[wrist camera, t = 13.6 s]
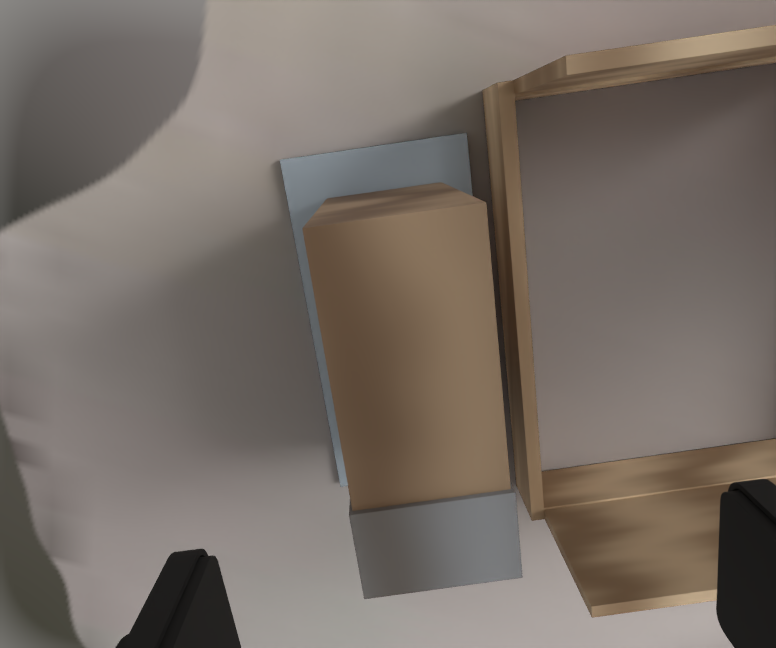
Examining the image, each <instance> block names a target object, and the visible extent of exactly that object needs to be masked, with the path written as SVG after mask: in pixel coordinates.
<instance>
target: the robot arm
mask: <svg viewBox="0 0 776 648" xmlns="http://www.w3.org/2000/svg"><path fill="white" fill-rule="evenodd" d="M716 610H717V617H718V620H719V623H720V626H721V628H722V630H723V632H724V633H725V635H726V636H727V638H728V639H729V641H730V642H731V643H732V645H733V646H734V648H776V485H775V484H774V483H772V482H771V481H769V480H768V479H757V480H749V481H741V482H734V483H732V484H730V486H729V489H728V492H723V493H722V495H721V498H720V519H719V548H718V577H717V606H716ZM116 648H241V645H240V641H239V638H238V634H237V630H236V627H235V623H234V619H233V615H232V612H231V608H230V604H229V601H228V597H227V593H226V590H225V586H224V582H223V579H222V575H221V571H220V567H219V564H218V561H217V558H216V557H215V556H208V554H207V552H206V551H205V550H204V549H196V550H188V551H180V552H174V553H172V554H171V555H170V556H169V558H168V559H167V561H166V563H165V565H164V567H163V569H162V571H161V573H160V575H159V577H158V579H157V581H156V583H155V585H154V587H153V589H152V590H151V592H150V594H149V596H148V598H147V600H146V602H145V604H144V606H143V608H142V610H141V612H140V614H139V616H138V618H137V620H136V622H135V623H134V625H133V627H132V629H131V631H130V633H129V634H128V635H126V636H125V637H123V638H122V639H121V640H120V642H119V643H118V645H117V646H116Z"/></svg>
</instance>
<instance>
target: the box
mask: <svg viewBox="0 0 776 648" xmlns="http://www.w3.org/2000/svg"><path fill="white" fill-rule="evenodd" d="M302 230H303V236H304V241H305V247H306V253H307V258H308V264H309V269H310V275H311V281H312V286H313V292H314V298H315V303H316V309H317V314H318V320H319V326H320V331H321V337H322V342H323V348H324V354H325V359H326V365H327V371H328V376H329V382H330V387H331V393H332V399H333V404H334V410H335V415H336V421H337V427H338V432H339V438H340V443H341V449H342V455H343V460H344V466H345V472H346V477H347V483H348V488H349V494H350V509H349V517H350V523H351V528H352V534H353V539H354V545H355V550H356V556H357V561H358V567H359V572H360V578H361V584H362V589H363V595H364V599H369V598H376V597H384V596H391V595H398V594H406V593H413V592H420V591H428V590H435V589H442V588H449V587H457V586H464V585H471V584H479V583H486V582H493V581H501V580H508V579H515V578H523V576H522V564H521V552H520V540H519V528H518V516H517V504H516V492H515V490H514V488H513V485H512V483H511V481H510V474H509V462H508V451H507V439H506V427H505V415H504V404H503V392H502V380H501V369H500V357H499V345H498V334H497V322H496V310H495V299H494V287H493V275H492V264H491V252H490V240H489V228H488V217H487V205H486V202H484V201H482V200H480V199H478V198H475V197H473V196H471V195H469V194H467V193H464V192H462V191H460V190H458V189H455V188H453V187H451V186H449V185H446V184H444V183H442V182H439V183H432V184H425V185H418V186H411V187H404V188H397V189H390V190H383V191H375V192H368V193H361V194H354V195H347V196H340V197H333V198H327V199H326V200H325V201H324V203H323V204H322V205H321V206H320V207H319V209H318V210H317V211H316V212H315V213H314V215H313V216H312V217H311V218H310V220H309V221H308V222H307V223H306V224H305V226H304V227H303V228H302Z"/></svg>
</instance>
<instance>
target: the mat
mask: <svg viewBox="0 0 776 648" xmlns="http://www.w3.org/2000/svg"><path fill="white" fill-rule="evenodd" d="M280 164H281V169H282V174H283V180H284V185H285V191H286V196H287V201H288V207H289V212H290V217H291V223H292V228H293V234H294V239H295V244H296V250H297V255H298V260H299V266H300V271H301V277H302V282H303V287H304V293H305V298H306V303H307V309H308V314H309V320H310V325H311V330H312V336H313V341H314V346H315V352H316V357H317V363H318V368H319V373H320V379H321V384H322V389H323V395H324V400H325V405H326V411H327V416H328V422H329V427H330V432H331V438H332V443H333V448H334V454H335V459H336V465H337V470H338V475H339V481H340V486H341V487H343V486H348V483H347V477H346V472H345V466H344V460H343V455H342V449H341V443H340V438H339V432H338V427H337V421H336V415H335V410H334V404H333V399H332V393H331V387H330V382H329V376H328V371H327V365H326V359H325V354H324V348H323V342H322V337H321V331H320V326H319V320H318V314H317V309H316V303H315V298H314V292H313V286H312V281H311V275H310V269H309V264H308V258H307V253H306V247H305V241H304V236H303V230H302V228H303V227H304V226H305V224H306V223H307V222H308V221H309V220H310V218H311V217H312V216H313V215H314V213H315V212H316V211H317V210H318V209H319V207H320V206H321V205H322V204H323V203H324V201H325V200H326V199H327V198H333V197H340V196H347V195H354V194H361V193H368V192H375V191H383V190H390V189H397V188H404V187H411V186H418V185H425V184H432V183H439V182H442V183H444V184H446V185H449V186H451V187H453V188H455V189H458V190H460V191H462V192H464V193H467V194H469V195H471V196H473V194H472V184H471V173H470V163H469V152H468V142H467V133H461V134H454V135H448V136H441V137H434V138H427V139H420V140H413V141H406V142H400V143H393V144H386V145H379V146H372V147H365V148H358V149H351V150H345V151H338V152H331V153H324V154H317V155H310V156H303V157H296V158H290V159H283V160H280Z"/></svg>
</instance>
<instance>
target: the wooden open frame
mask: <svg viewBox="0 0 776 648" xmlns="http://www.w3.org/2000/svg"><path fill="white" fill-rule="evenodd" d="M771 63H776V25H772V26H765V27H758V28H751V29H744V30H737V31H731V32H724V33H717V34H710V35H703V36H697V37H690V38H683V39H676V40H669V41H662V42H656V43H649V44H642V45H635V46H628V47H621V48H615V49H608V50H601V51H594V52H587V53H580V54H574V55H567V56H564V57H562V58H560V59H558V60H556V61H554V62H551V63H549V64H547V65H545V66H543V67H541V68H539V69H537V70H534V71H532V72H530V73H528V74H526V75H524V76H522V77H520V78H517V79H515V80H512V81H505V82H499V83H496V84H494V85H492V86H490V87H488V88H486V89H484V90H482V91H483V102H484V114H485V126H486V137H487V149H488V161H489V172H490V184H491V195H492V207H493V219H494V230H495V242H496V254H497V265H498V277H499V289H500V300H501V312H502V324H503V335H504V347H505V359H506V370H507V382H508V394H509V405H510V417H511V429H512V440H513V452H514V464H515V475H516V486H517V488H518V490H519V492H520V495H521V497H522V499H523V501H524V504H525V506H526V508H527V511H528V513H529V515H530V517H531V520H532V521H534V520H541V519H545V521H546V523H547V525H548V527H549V529H550V531H551V533H552V535H553V537H554V539H555V541H556V544H557V546H558V548H559V550H560V552H561V554H562V556H563V558H564V560H565V562H566V564H567V566H568V569H569V571H570V573H571V575H572V577H573V579H574V581H575V583H576V585H577V587H578V589H579V592H580V594H581V596H582V598H583V600H584V602H585V604H586V606H587V608H588V610H589V612H590V615H591V617H592V618H593V617H600V616H607V615H614V614H621V613H629V612H636V611H643V610H650V609H657V608H665V607H672V606H679V605H686V604H694V603H701V602H708V601H715V600H717V577H718V548H719V519H720V498H721V495H722V493H723V492H728V489H729V486H730V484H732V483H734V482H741V481H749V480H757V479H768V480H769V481H771V482H772V483H774V484H775V485H776V439H769V440H762V441H755V442H748V443H741V444H734V445H727V446H720V447H712V448H705V449H698V450H691V451H684V452H677V453H670V454H663V455H656V456H649V457H641V458H634V459H627V460H620V461H613V462H606V463H599V464H592V465H585V466H577V467H570V468H563V469H556V470H549V471H542V472H541V459H540V445H539V431H538V417H537V403H536V389H535V375H534V360H533V346H532V332H531V318H530V304H529V290H528V276H527V262H526V248H525V234H524V220H523V205H522V191H521V177H520V163H519V149H518V135H517V121H516V107H515V101H517V100H524V99H531V98H538V97H545V96H552V95H558V94H565V93H572V92H579V91H586V90H593V89H600V88H606V87H613V86H620V85H627V84H634V83H641V82H647V81H654V80H661V79H668V78H675V77H682V76H689V75H695V74H702V73H709V72H716V71H723V70H730V69H737V68H743V67H750V66H757V65H764V64H771Z"/></svg>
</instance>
